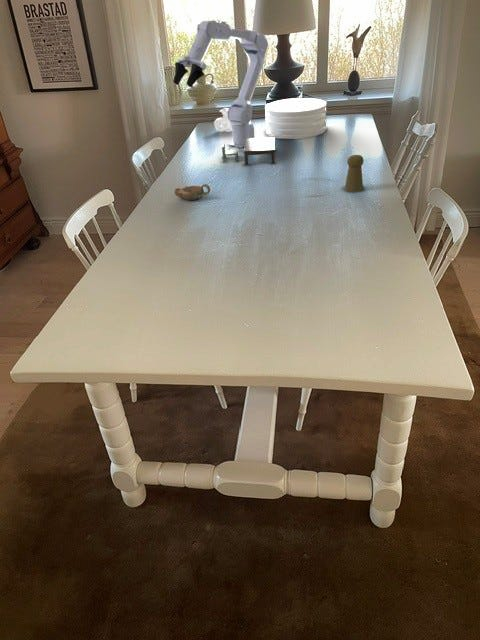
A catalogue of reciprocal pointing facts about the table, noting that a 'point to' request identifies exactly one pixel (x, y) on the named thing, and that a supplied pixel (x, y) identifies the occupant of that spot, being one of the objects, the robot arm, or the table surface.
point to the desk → (259, 148)
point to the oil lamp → (191, 192)
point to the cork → (354, 173)
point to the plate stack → (296, 118)
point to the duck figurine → (223, 122)
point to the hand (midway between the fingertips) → (181, 84)
